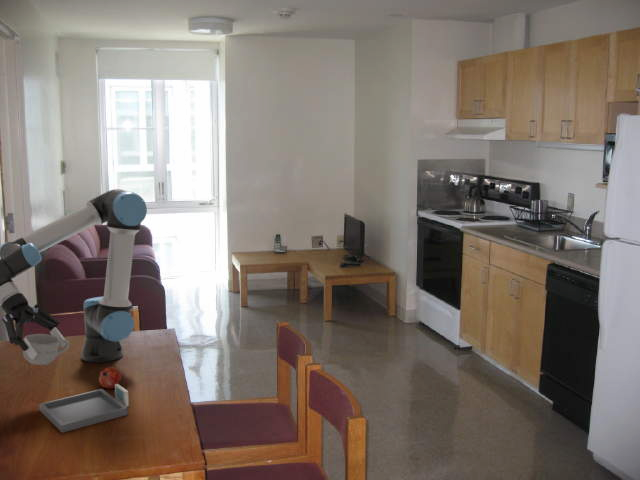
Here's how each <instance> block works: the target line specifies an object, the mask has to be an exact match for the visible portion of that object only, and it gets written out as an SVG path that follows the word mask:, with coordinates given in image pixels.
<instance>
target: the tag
mask: <svg viewBox="0 0 640 480" xmlns="http://www.w3.org/2000/svg"><path fill="white" fill-rule="evenodd" d="M114 395H115V396H114V398H115V399H116V400H118V401H119V402H120V403H121V404H123V405H124V406H125V407H127V408H128V407H129V405H130V403H129V391H128V390H127V389H126V388H124V387H123V386H121V385H120V384H119V383H118V384H115V388H114Z"/></svg>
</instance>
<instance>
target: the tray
mask: <svg viewBox="0 0 640 480" xmlns="http://www.w3.org/2000/svg"><path fill="white" fill-rule="evenodd" d="M38 406H39V412H40V413H42V415H44V417H46V419H48V420H49V422H51V424H52V425H53V426H54V427H56V428H57V430H59V431H60V432H61V433H66V432H71V431H73V430H76V429H81V428H85V427H88V426H91V425H95V424H98V423H101V422H102V423H103V422H106V421H109V420H113V419H117V418H121V417H125V416H127V415H129V414H128V413H129V412H128V406H127V407H125V406H124V405H123V404H121V403H120V402H119V401H118V400H116V399H115V396H112V395H111V394H109V393H108V392H107V391H106V390H104V389H103V388H99V389H95V390H92V391H87V392H84V393H78V394H75V395H71V396H66V397H63V398H62V397H61V398H58V399H55V400H51V401H50V400H49V401H46V402H45V401H44V402H41V403H39V405H38Z"/></svg>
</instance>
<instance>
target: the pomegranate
mask: <svg viewBox="0 0 640 480" xmlns="http://www.w3.org/2000/svg"><path fill="white" fill-rule="evenodd" d="M121 379H122V375H121V373H120V371H119V370H118V369H117V368H116V367H115V366H108V367H105V368H104V369H103V370H100V373H99V376H98V382H99V384H100V386H101V387H103V388H105V389H110V390H111V389H115V384H119V383H120V381H121Z"/></svg>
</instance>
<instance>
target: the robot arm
mask: <svg viewBox="0 0 640 480" xmlns="http://www.w3.org/2000/svg"><path fill="white" fill-rule="evenodd" d="M147 209H148V207H147V203H146V202H145V200H144V198H143V197H142V196H141V195H139V194H137V193H135V192H134V191H129V190H123V189H118V188H114V189H110V190H108V191H106V192H104V193H102V194H100V195H98V196H96V197H94V198H93V199H90V200H89V201H88V200H87V202H86V204H85V206H83V207H80V208H78V209H76V210H74V211H73V212H70V213H68V214H66V215H65V216H62V217H60V218H59V219H56V220H54V221H53V222H52V221H51V222H50V223H48V224H46V225H44V226H42V227H40V228H38V229H36V230H33V231H32V232H30V233H28V234H26V235H23V236H22V237H19V238H18V239H16V240H14V241H6V242H4V243H3V244H1V245H0V307H1V309H2V310H3V311H4V313H5V315H4V316H3V317H2V318H1V320H2V322H3V323H4V325H5V329H6V332H7V337H8V341H9V343H10V344H11V345H13V344H14V345H15V346H19V347H20V348H21V350H22V352H23V351H25V352H26V353H27V354H28V356H29V357H30V358H31V360H33V359H34V358H35V357H36V356H37V355H38V354H37V352H36V351H35V350H34V348H33V347H32V346H31V344H30V343H29V342H28V340H27V339H26V338H25V339H24V325H25V324H28V323H32V324H33V323H34V324H37V325H38V326H40V327H43V328H45V329H48V330H49V331H50V332H49V333H50V335H53V336H56V337H58V338H59V340H61V339H66V338H65V337H64V336H63V333H62V332H61V330H60V329H59V327H58V326H59V325H60V324H61V322H60V321H59V320H58V319H57V318H55V317H53V316H52V315H51V314H49V313H48V312H47V311H45V310H44V309H43V308H42V307H41V306H40V305H39V304H37V303H36V304H35V305H33V306H30V305H29V300H28V299H27V297H25V295H24V294H23V293H21V290H20V289H19V287H18V286H17V285H16V283H15V282H14V280H13V279H14V278H16V277H18V276H19V275H21V274H23V273H25V272H26V271H28V270H30V269H32V268H34V267H36V266H37V265H38V264H39V263H41V261H42V260H43V258H42V255H41V252H44V251H45V250H47V249H49V248H51V247H53V246H55V245H58V244H59V243H61V242H63V241H65V240H67V239H69V238H71V237H73V236H75V235H77V234H79V233H81V232H84V231H85V230H86V229H89V228H91V227H93V226H95V225H99V226H101V225H102V224H105V223H106V228H107V229H108V231H109V244H108V252H107V263H106V270H105V271H106V272H105V281H104V289H103V290H104V291H103V296H97V297H92V298H88V299H85V300H84V301H83V308H82V309H83V319H84V333H85V334H84V335H85V337H84V343H83V346H82V349H81V354H80V355H81V360H83V361H84V362H87V363H95V364H96V363H97V364H98V363H107V362H112V361H115V360H118V359H120V358H122V357H123V355H124V352H123V351H124V350H123V346H122V343H121V341H124V340H125V339H127V338H128V337H129V336H131V334H132V332H134V331H133V330H134V328H135V320H134V317H133V316H132V305H133V304H132V302H131V301H130V299H129V293H130V282H131V275H132V266H133V255H134V248H135V247H134V246H135V239H136V234H137V233H139V231H141V223H142V222H143V221H144V220H145V218H146V217H147V212H148V210H147ZM65 346H66V343H65V342H62V343H61V344H60V346H59V347H60V348H61V349H63V348H64V347H65Z"/></svg>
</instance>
